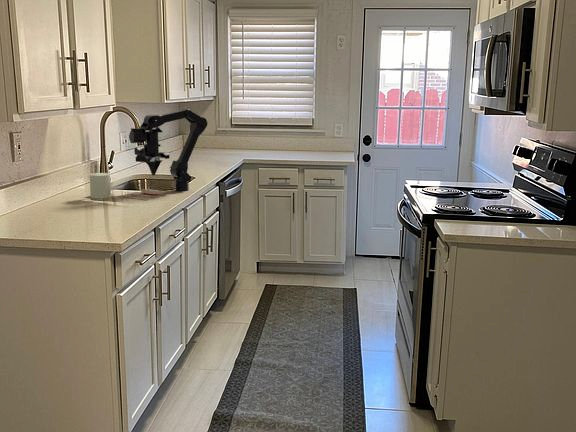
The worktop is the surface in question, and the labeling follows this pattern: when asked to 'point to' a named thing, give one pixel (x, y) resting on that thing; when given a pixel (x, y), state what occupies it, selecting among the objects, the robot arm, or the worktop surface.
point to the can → (100, 186)
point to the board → (141, 196)
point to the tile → (152, 191)
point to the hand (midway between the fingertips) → (153, 175)
